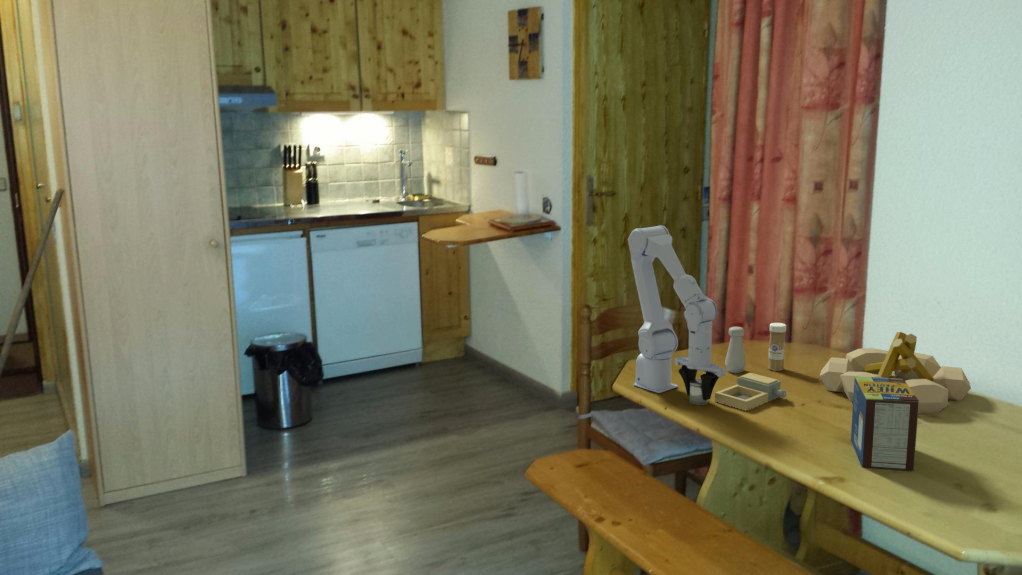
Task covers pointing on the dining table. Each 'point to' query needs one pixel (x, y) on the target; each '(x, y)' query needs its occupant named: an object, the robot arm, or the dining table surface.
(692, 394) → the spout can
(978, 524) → the dining table surface
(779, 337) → the sprinkles bottle
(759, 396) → the drawer
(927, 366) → the campfire
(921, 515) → the dining table surface
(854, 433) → the protein box
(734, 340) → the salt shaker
